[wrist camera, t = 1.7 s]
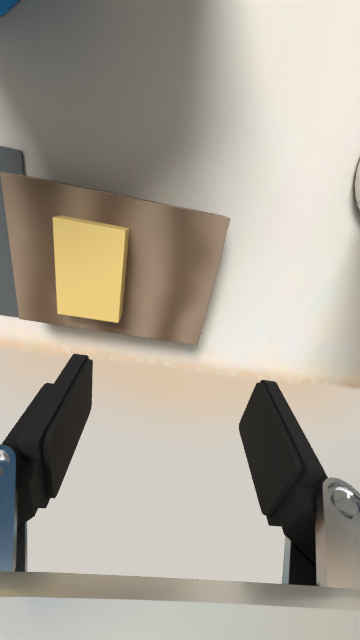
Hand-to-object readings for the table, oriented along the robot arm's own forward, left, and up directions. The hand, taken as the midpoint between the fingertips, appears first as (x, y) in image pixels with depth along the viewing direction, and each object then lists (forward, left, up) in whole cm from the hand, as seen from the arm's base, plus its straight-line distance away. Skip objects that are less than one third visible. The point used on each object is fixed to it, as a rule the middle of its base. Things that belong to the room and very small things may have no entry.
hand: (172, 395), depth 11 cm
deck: (+6, 0, -20) cm, 21 cm away
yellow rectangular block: (+8, 0, -16) cm, 18 cm away
